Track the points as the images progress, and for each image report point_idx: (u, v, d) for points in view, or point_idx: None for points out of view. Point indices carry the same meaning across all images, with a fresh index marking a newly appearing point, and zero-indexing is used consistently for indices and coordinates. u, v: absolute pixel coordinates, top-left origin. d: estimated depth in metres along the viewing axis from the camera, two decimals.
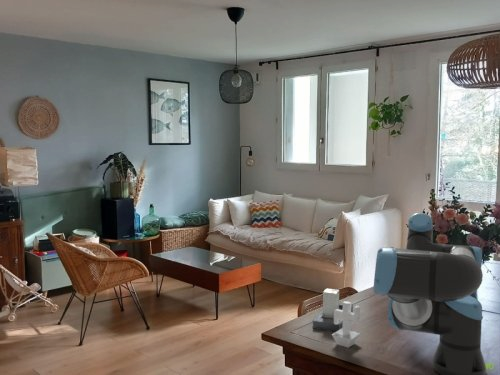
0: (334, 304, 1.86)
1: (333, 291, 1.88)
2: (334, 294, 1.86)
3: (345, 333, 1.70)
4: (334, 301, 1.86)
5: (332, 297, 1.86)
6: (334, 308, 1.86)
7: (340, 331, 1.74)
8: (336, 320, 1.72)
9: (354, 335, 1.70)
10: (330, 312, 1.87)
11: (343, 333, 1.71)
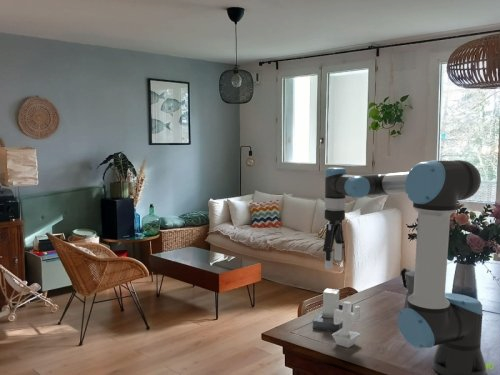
0: (334, 304, 1.86)
1: (333, 291, 1.88)
2: (334, 294, 1.86)
3: (345, 333, 1.70)
4: (334, 301, 1.86)
5: (332, 297, 1.86)
6: (334, 308, 1.86)
7: (340, 331, 1.74)
8: (336, 320, 1.72)
9: (354, 335, 1.70)
10: (330, 312, 1.87)
11: (343, 333, 1.71)
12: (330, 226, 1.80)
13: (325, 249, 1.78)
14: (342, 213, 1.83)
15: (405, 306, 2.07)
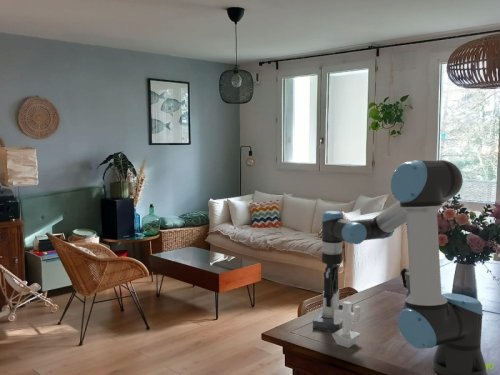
0: (334, 304, 1.86)
1: (333, 291, 1.88)
2: (334, 294, 1.86)
3: (345, 333, 1.70)
4: (334, 301, 1.86)
5: (332, 297, 1.86)
6: (334, 308, 1.86)
7: (340, 331, 1.74)
8: (336, 320, 1.72)
9: (354, 335, 1.70)
10: None
11: (343, 333, 1.71)
12: (327, 275, 1.82)
13: (325, 297, 1.84)
14: (339, 257, 1.85)
15: (405, 306, 2.07)
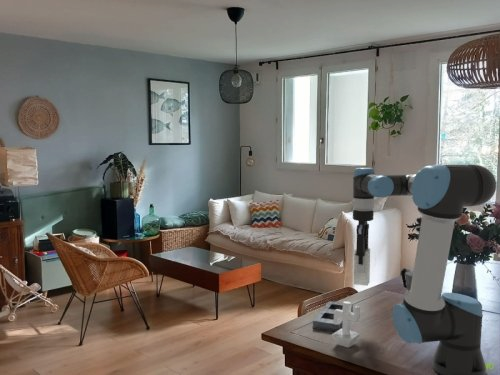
0: (366, 262, 1.83)
1: None
2: (366, 251, 1.83)
3: (345, 333, 1.70)
4: (366, 259, 1.83)
5: (364, 255, 1.83)
6: (366, 266, 1.83)
7: (340, 331, 1.74)
8: (336, 320, 1.72)
9: (354, 335, 1.70)
10: None
11: (343, 333, 1.71)
12: (360, 231, 1.79)
13: (358, 254, 1.80)
14: (371, 213, 1.82)
15: None
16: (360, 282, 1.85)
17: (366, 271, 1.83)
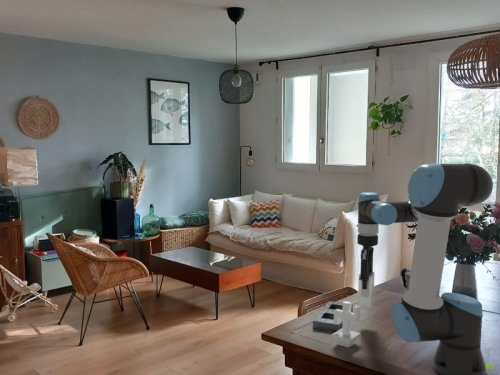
0: (370, 286, 1.84)
1: (369, 273, 1.86)
2: (370, 276, 1.84)
3: (345, 333, 1.70)
4: (370, 283, 1.84)
5: None
6: (370, 290, 1.84)
7: (340, 331, 1.74)
8: (336, 320, 1.72)
9: (354, 335, 1.70)
10: None
11: (343, 333, 1.71)
12: (364, 256, 1.80)
13: (362, 279, 1.82)
14: (376, 238, 1.83)
15: None
16: (364, 306, 1.86)
17: (370, 295, 1.85)
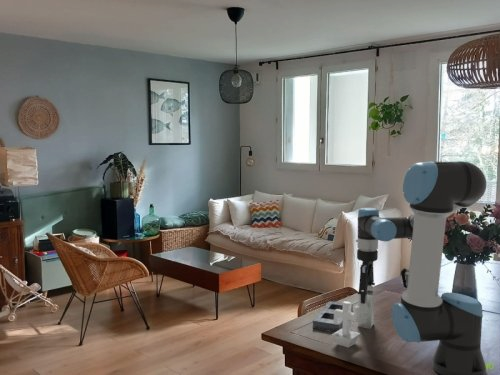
0: (370, 305, 1.85)
1: (368, 292, 1.87)
2: (370, 295, 1.85)
3: (345, 333, 1.70)
4: (370, 302, 1.85)
5: (368, 299, 1.85)
6: (370, 309, 1.85)
7: (340, 331, 1.74)
8: (336, 320, 1.72)
9: (354, 335, 1.70)
10: (365, 313, 1.86)
11: (343, 333, 1.71)
12: (364, 269, 1.80)
13: (360, 292, 1.79)
14: (375, 254, 1.83)
15: None
16: (364, 325, 1.87)
17: (370, 314, 1.85)
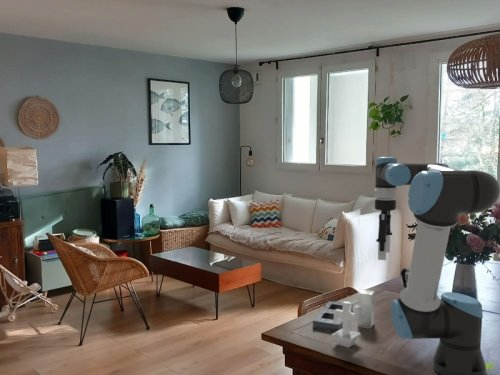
0: (370, 305, 1.85)
1: (368, 292, 1.87)
2: (370, 295, 1.85)
3: (345, 333, 1.70)
4: (370, 302, 1.85)
5: (368, 299, 1.85)
6: (370, 309, 1.85)
7: (340, 331, 1.74)
8: (336, 320, 1.72)
9: (354, 335, 1.70)
10: (365, 313, 1.86)
11: (343, 333, 1.71)
12: (383, 216, 1.77)
13: (380, 239, 1.75)
14: (394, 203, 1.80)
15: None
16: (364, 325, 1.87)
17: (370, 314, 1.85)
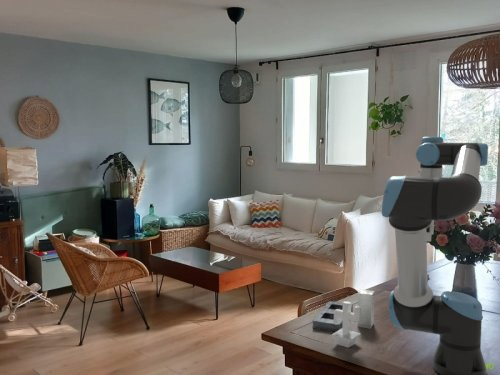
0: (370, 305, 1.85)
1: (368, 292, 1.87)
2: (370, 295, 1.85)
3: (345, 333, 1.70)
4: (370, 302, 1.85)
5: (368, 299, 1.85)
6: (370, 309, 1.85)
7: (340, 331, 1.74)
8: (336, 320, 1.72)
9: (354, 335, 1.70)
10: (365, 313, 1.86)
11: (343, 333, 1.71)
12: None
13: None
14: None
15: None
16: (364, 325, 1.87)
17: (370, 314, 1.85)
